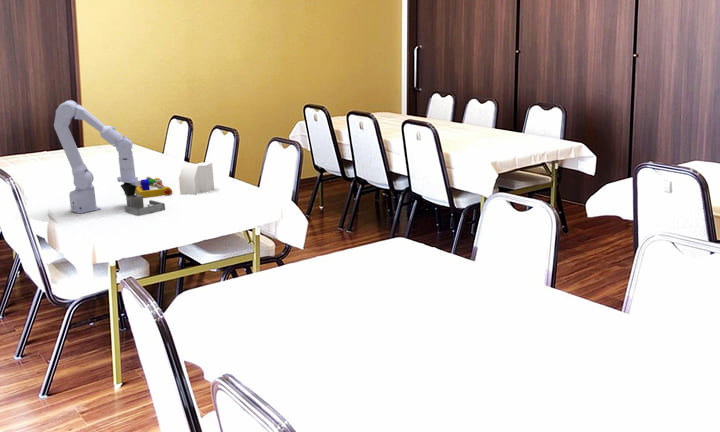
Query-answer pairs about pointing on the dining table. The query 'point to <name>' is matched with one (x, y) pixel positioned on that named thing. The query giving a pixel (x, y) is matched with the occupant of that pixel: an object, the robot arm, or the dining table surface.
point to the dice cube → (135, 201)
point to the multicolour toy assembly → (146, 192)
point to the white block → (196, 178)
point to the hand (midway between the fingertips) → (130, 200)
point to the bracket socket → (146, 208)
